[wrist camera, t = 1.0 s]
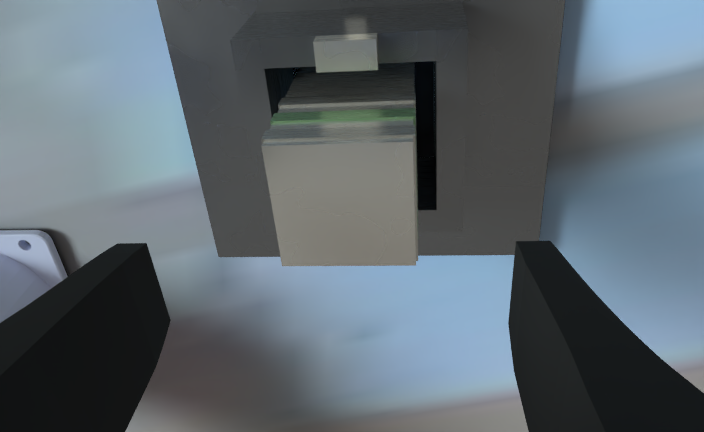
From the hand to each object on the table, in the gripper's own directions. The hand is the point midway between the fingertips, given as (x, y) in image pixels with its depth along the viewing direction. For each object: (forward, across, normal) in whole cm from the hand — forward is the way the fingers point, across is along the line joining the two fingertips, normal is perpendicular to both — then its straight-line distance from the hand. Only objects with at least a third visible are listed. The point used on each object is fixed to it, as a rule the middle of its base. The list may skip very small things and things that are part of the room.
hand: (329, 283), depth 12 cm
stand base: (+10, 0, 0) cm, 10 cm away
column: (+10, 0, 0) cm, 10 cm away
